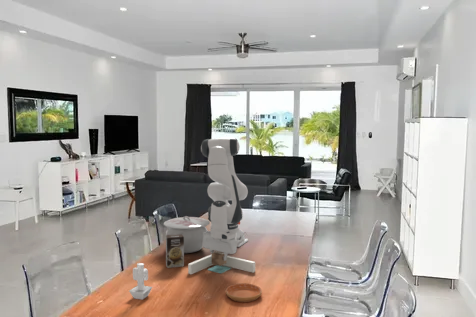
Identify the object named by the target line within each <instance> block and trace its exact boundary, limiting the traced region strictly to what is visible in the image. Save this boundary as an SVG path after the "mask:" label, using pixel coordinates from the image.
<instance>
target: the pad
mask: <svg viewBox="0 0 476 317" xmlns="http://www.w3.org/2000/svg"><path fill="white" fill-rule="evenodd" d="M206 269H207V268H206ZM231 269H232V267H228V266H224V265H221V266H218V265H213V266H212V267H208V269H207V271H210V272H212V273H213V272H214V273H218V274H224V273H226V272H227V271H229V270H231Z"/></svg>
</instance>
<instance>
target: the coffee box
mask: <svg viewBox="0 0 476 317" xmlns="http://www.w3.org/2000/svg"><path fill="white" fill-rule="evenodd" d="M165 266H166V268H167V269H170V268H179V267H184V266H185V253H184V236H183V235H182V234H177V235H166V234H165Z"/></svg>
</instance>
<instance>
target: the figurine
mask: <svg viewBox="0 0 476 317" xmlns="http://www.w3.org/2000/svg"><path fill="white" fill-rule="evenodd" d="M132 279H133V280H134V281H136V282H137V285H136V286H135V287H133V288H131V289H130V290H129V291H128V292H129V293H130V295H131V296H132V297H133V299H135V300H136V299H137V300H144V299H145V298H147V297H149V295H150V293H151V291H152V289H153V286H150V285H149V286H147V285H145V281H148V279H149V270H148V269H147V268H145V263H142V262H137V263H136V267H133V268H132Z"/></svg>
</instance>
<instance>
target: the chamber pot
mask: <svg viewBox="0 0 476 317" xmlns="http://www.w3.org/2000/svg"><path fill="white" fill-rule="evenodd" d="M210 224H211V222H210V221H209V220H208V219H206V218H203V217H196V216H187V215H185V216H183V217H182V216H181V217H180V216H179V217H175V218H171V219H168V220H166V221H164V222H163V226H164V227H166V228H167V229H166V231H165V236H166V235H177V234H182V235H183V236H184V254H192V253H196V252H198V251H200V250H202V248H203V246H202V242H203V233H204V231H206V230H207V231H208V229H207V226H210Z"/></svg>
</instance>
